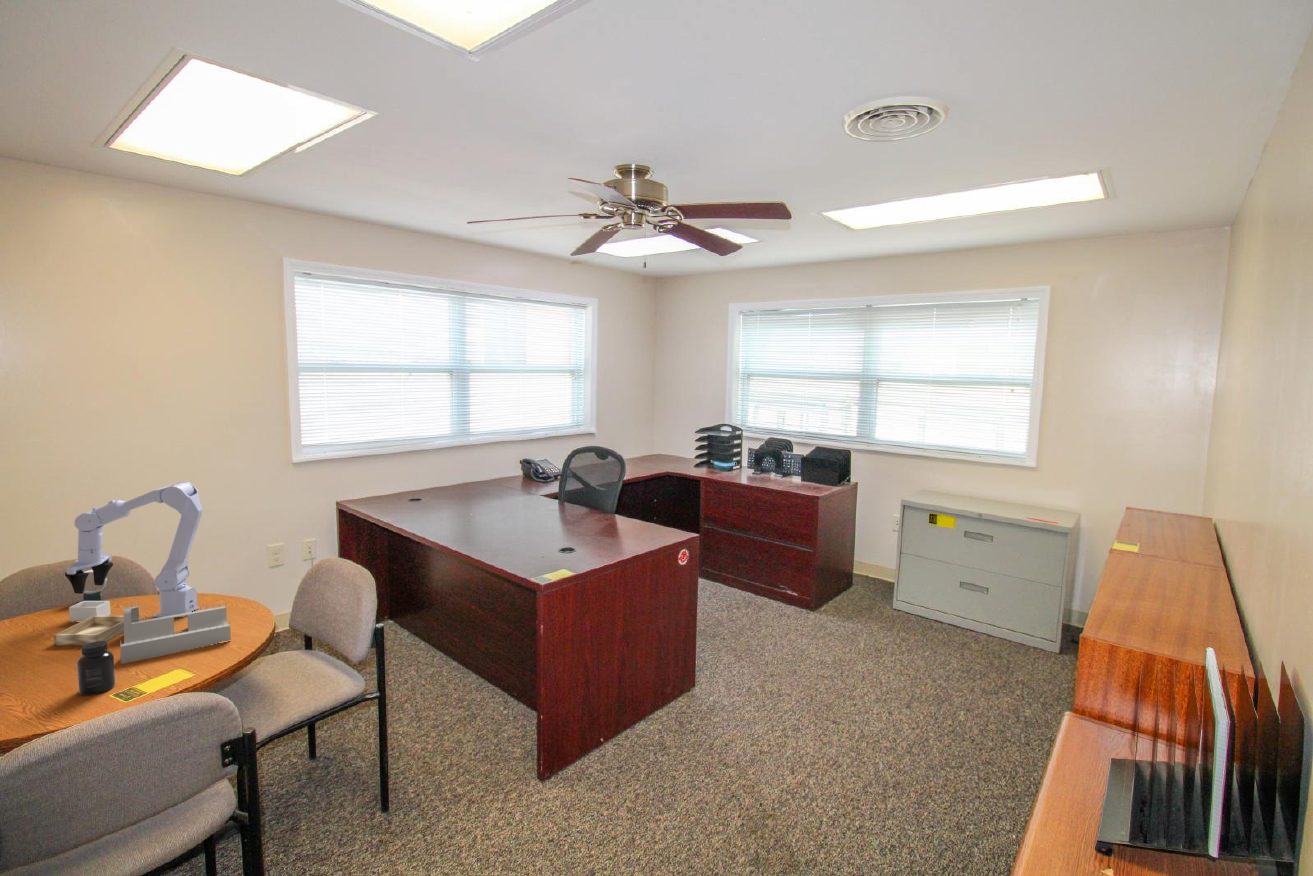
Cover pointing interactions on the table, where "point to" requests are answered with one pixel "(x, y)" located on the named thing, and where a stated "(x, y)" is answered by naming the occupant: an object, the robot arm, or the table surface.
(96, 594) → the watch
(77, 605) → the small crate
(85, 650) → the supplement bottle
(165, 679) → the table surface
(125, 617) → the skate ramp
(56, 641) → the shallow wooden tray
